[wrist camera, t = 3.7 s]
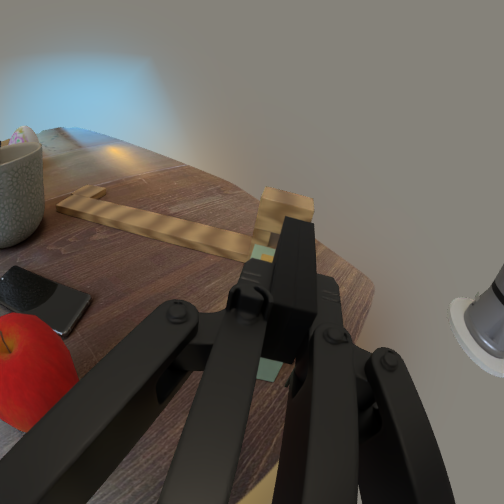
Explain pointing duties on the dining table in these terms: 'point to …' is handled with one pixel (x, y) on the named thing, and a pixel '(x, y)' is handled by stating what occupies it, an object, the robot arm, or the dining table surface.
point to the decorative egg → (23, 135)
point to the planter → (20, 192)
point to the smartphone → (43, 299)
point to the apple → (31, 369)
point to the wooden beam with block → (191, 233)
